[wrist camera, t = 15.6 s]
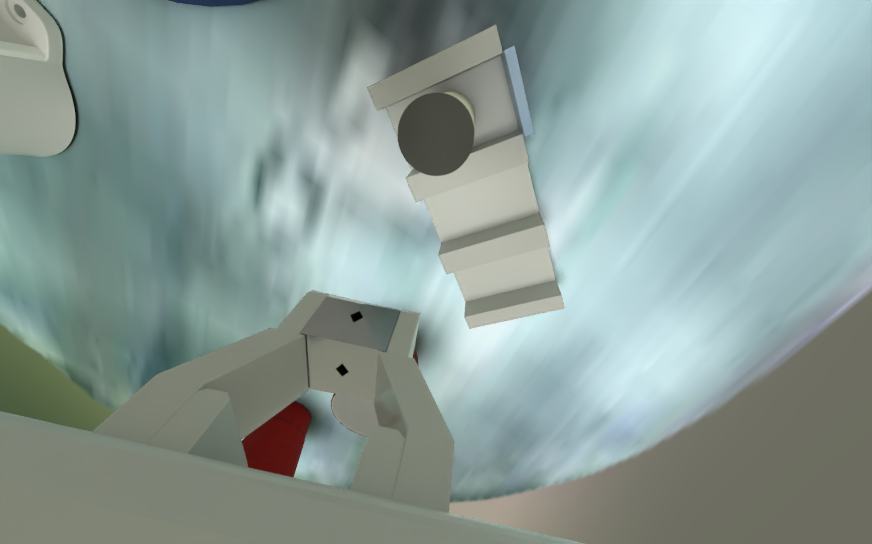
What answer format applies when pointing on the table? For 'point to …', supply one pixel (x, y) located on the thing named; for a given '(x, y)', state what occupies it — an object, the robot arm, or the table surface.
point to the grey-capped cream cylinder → (437, 132)
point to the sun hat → (214, 2)
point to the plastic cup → (278, 441)
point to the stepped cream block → (483, 182)
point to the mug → (356, 412)
